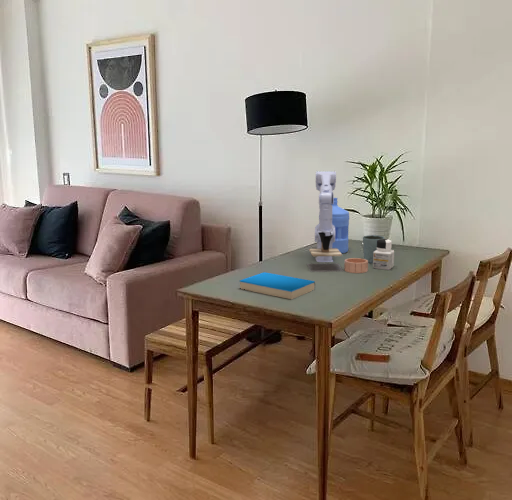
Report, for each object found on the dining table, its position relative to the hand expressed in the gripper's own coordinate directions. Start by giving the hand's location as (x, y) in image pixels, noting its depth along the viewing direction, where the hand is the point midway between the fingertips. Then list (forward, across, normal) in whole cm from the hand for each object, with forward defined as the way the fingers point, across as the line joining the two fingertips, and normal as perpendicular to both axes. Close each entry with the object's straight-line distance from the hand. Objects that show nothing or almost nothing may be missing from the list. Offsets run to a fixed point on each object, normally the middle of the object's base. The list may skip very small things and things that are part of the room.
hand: (325, 248), depth 241 cm
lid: (+2, 0, 0) cm, 2 cm away
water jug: (+10, -38, +10) cm, 40 cm away
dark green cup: (+10, -13, +25) cm, 30 cm away
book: (+10, +32, -24) cm, 41 cm away
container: (+10, -1, +27) cm, 29 cm away
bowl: (+9, +6, +13) cm, 17 cm away
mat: (+9, 0, 0) cm, 9 cm away
